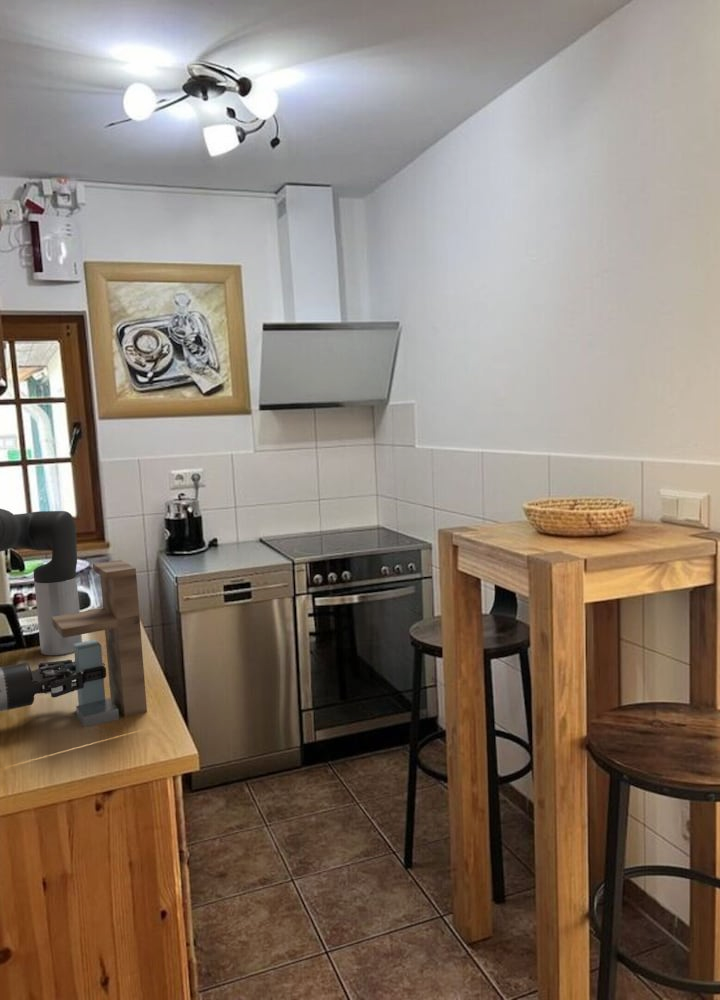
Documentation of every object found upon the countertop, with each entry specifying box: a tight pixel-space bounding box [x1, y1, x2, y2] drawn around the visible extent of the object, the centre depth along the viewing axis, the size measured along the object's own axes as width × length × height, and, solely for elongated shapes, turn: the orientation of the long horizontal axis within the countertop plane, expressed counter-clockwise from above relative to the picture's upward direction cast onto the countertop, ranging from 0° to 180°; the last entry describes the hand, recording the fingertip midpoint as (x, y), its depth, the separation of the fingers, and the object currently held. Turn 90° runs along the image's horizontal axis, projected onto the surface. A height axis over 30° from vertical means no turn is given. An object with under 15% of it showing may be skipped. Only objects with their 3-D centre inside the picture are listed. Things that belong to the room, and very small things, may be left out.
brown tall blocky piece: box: [51, 559, 148, 718], centre depth 135 cm, size 10×13×27 cm
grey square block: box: [75, 697, 120, 729], centre depth 134 cm, size 6×6×2 cm
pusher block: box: [73, 639, 106, 706], centre depth 137 cm, size 4×4×12 cm
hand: (101, 668), depth 138 cm, fingers closed on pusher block, 4 cm apart
